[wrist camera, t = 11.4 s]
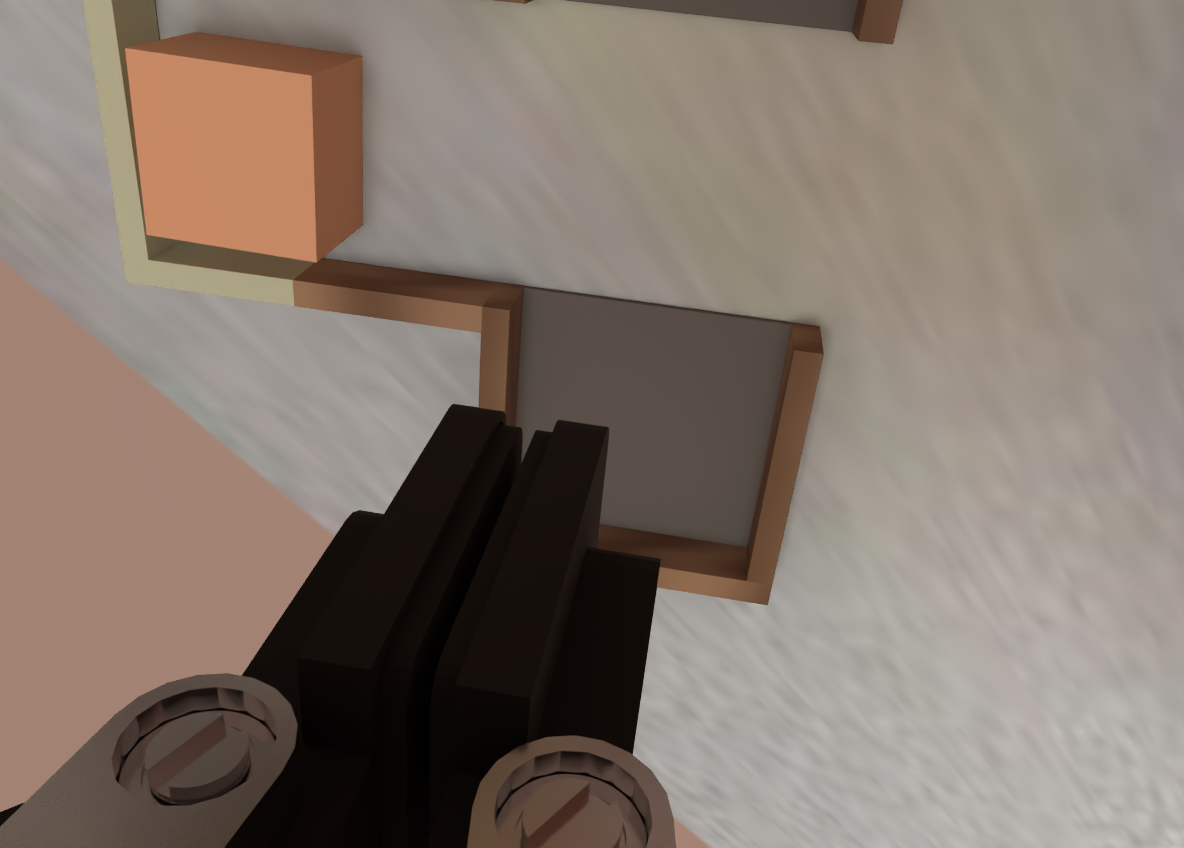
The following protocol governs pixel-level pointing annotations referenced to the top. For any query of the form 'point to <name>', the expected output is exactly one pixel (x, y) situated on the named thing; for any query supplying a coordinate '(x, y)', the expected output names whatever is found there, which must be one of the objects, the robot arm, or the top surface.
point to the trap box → (563, 343)
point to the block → (248, 143)
